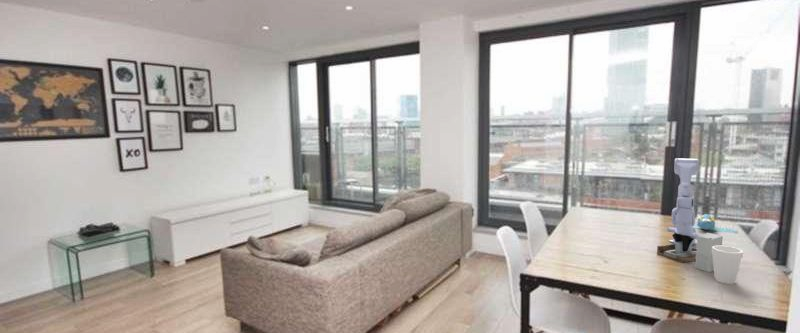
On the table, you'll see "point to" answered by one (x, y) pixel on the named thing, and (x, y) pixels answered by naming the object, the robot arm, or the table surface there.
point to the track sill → (670, 253)
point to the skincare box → (706, 251)
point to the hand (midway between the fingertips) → (682, 250)
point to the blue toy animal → (710, 224)
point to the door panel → (680, 248)
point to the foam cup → (726, 263)
